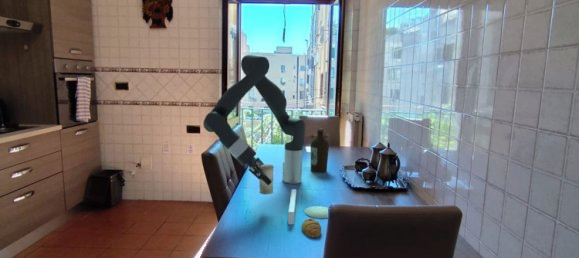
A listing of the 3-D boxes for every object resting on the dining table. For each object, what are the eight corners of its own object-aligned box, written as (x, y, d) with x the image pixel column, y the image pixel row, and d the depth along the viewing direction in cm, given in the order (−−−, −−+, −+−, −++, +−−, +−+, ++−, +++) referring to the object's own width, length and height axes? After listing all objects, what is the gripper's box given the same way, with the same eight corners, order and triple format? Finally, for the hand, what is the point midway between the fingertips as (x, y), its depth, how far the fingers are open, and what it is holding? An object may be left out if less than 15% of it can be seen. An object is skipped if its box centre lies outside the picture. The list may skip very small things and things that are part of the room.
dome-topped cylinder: (256, 191, 148) (257, 165, 146) (267, 188, 152) (267, 163, 150) (265, 195, 144) (265, 168, 142) (275, 192, 148) (276, 166, 146)
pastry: (325, 238, 126) (325, 227, 125) (306, 239, 124) (307, 229, 124) (317, 226, 135) (317, 217, 134) (299, 228, 133) (300, 218, 133)
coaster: (298, 211, 148) (298, 210, 148) (318, 205, 156) (318, 204, 156) (319, 221, 139) (319, 220, 139) (340, 213, 147) (340, 212, 147)
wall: (291, 200, 161) (291, 189, 160) (295, 200, 161) (296, 189, 160) (288, 224, 135) (288, 211, 135) (293, 224, 135) (293, 212, 135)
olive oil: (321, 167, 217) (323, 126, 213) (331, 172, 208) (333, 129, 204) (306, 169, 212) (307, 127, 208) (315, 174, 203) (317, 130, 199)
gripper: (245, 149, 138) (275, 180, 139) (251, 141, 152) (279, 170, 153) (231, 162, 139) (262, 193, 140) (238, 153, 153) (266, 181, 155)
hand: (270, 181), depth 147 cm, fingers closed on dome-topped cylinder, 5 cm apart
